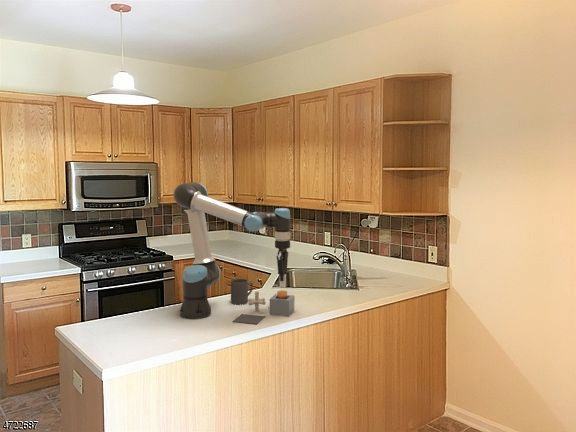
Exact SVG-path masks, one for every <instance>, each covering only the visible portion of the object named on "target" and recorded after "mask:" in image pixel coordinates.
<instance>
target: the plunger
mask: <svg viewBox="0 0 576 432" xmlns="http://www.w3.org/2000/svg"><path fill="white" fill-rule="evenodd" d="M276 294H277V297H278V298H286V297H287V295H288V291H287V290H282V289H281V290H277V291H276Z"/></svg>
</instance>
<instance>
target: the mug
mask: <svg viewBox="0 0 576 432" xmlns="http://www.w3.org/2000/svg"><path fill="white" fill-rule="evenodd" d="M249 285H250V290H249ZM253 289H254V286H253V282H251V281H248V280H247V279H245V278H235V279H234V278H233V279H231V281H230V303H231V304H232V305H235V304H236V305H237V306H238V305H239V306H240V304H241V305H242V304H243V305H246V304H248V303H249V296H250V295H251V293H252V292H253Z"/></svg>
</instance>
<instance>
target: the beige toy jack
mask: <svg viewBox="0 0 576 432" xmlns="http://www.w3.org/2000/svg"><path fill="white" fill-rule="evenodd" d="M259 294H260V292H259V291H254V298H252V297H248V305H249V306H253V305H254V312H257V313H258V312H260V311H259V306H260V305H262V306H265V305H266V298H265V297H261V298H259V296H260V295H259Z"/></svg>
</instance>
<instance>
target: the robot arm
mask: <svg viewBox="0 0 576 432" xmlns="http://www.w3.org/2000/svg"><path fill="white" fill-rule="evenodd" d="M173 199H174V201H175V203H176V204H177V205H178V206H180V207H182V209H183V211H184V212H185V213H186V214H187V218H188V219H187V220H188V225H189V231H190V238H191V244H192V248H193V256H194V261H192V265H189V266H186V267H185V268H184V269H183V271H182V276H181V277H182V302H181V305H180V308H179V316H180V317H181V318H184V319H188V320H189V319H190V320H192V319H193V320H194V319H195V320H196V319H197V320H198V319H204V318H207V317H210V316H211V314H212V308H211V305H210V301H209V299H208V288H210V287H212V286H214V285H216V283H217V282H219V279H220V278H221V269H220V266H219V265H217V263H216V258H214V257H213V256H212V250H211V245H210V239H209V231H208V226H207V225H208V224H207V220H206V214H208V215H211V216H214V217H217V218H219V219H222V220H225V221H228V222H230V223H233V224H236V225H238V226H240V227H244V228H245V229H246V230H247V231H249V232H258V231H260V230H262V229H264V228H267V229H268V228H269V229H270V228H273V229H274V240H275V241H274V247H275V248H276V249H278V252H277V255H276V261H277V263H276V264H277V275H279V288H286V286H287V283H286V281H287V279H286V278H287V277H286V275H287V274H288V261H289V260H288V258H289V251H288V250H287V249H290V248H291V240H290V239H291V235H292V233H291V211H290V209H289V208H285V207H281V208H275V210H274V212H265V211H264V212H263V211H253V212H250V211H248V210H246V209H242V208H240V207H237V206H235V205H232V204H229V203H226V202H223V201H220V200H218V199H215V198H212V197H210V196H209V193H208V189H207V187H206V186H205V185H203V184H202V183H199V182H185V183H184V182H183V183H181V184H178V185H177V186H176V187H175V188H174V191H173ZM205 213H206V214H205Z"/></svg>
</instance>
